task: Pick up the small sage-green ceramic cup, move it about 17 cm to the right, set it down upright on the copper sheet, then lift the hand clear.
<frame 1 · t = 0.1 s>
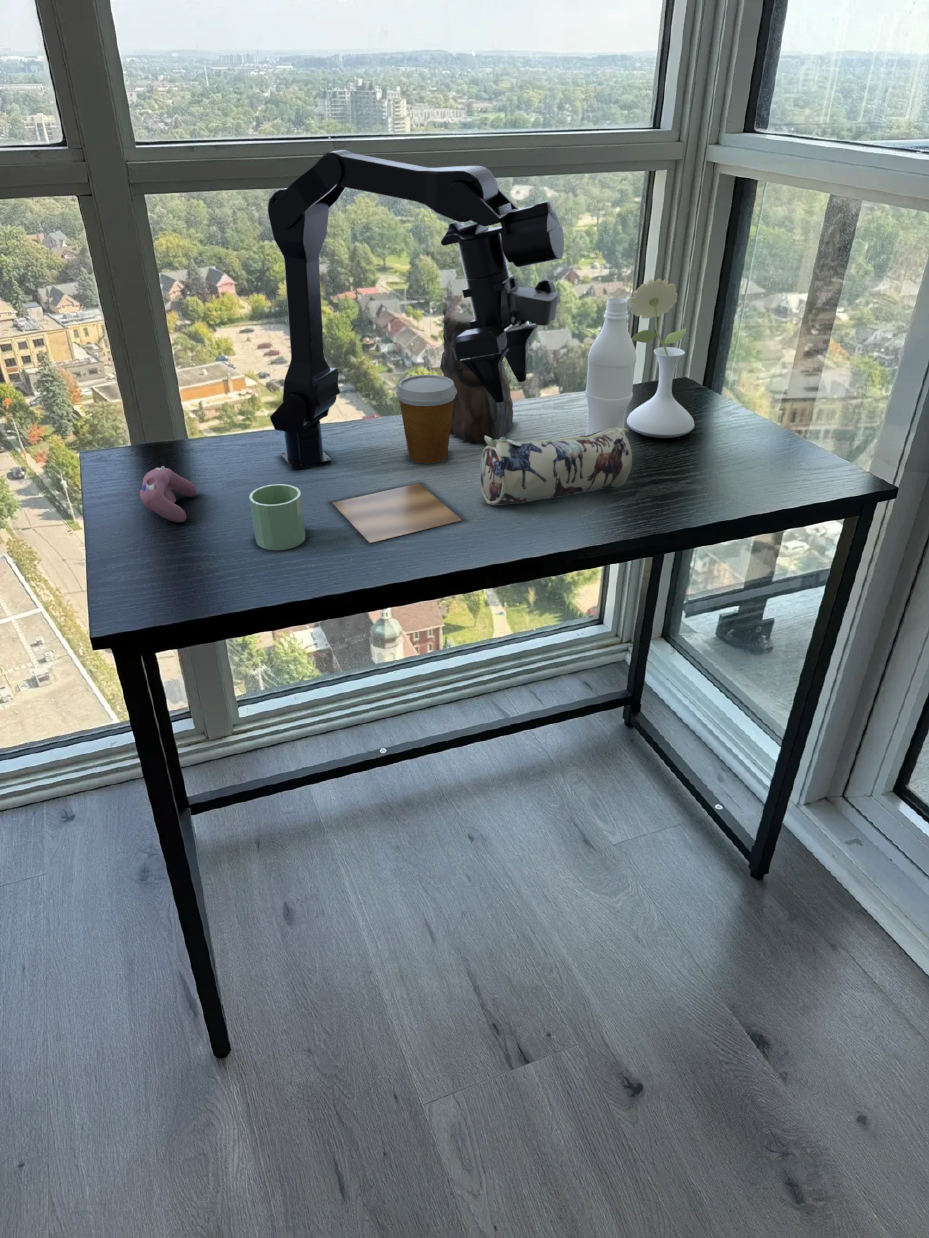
hand: (511, 391, 119), 15 cm above the table, tool pointing down, fingers open, 9 cm apart
owl: (483, 433, 149), on the table
water bottle: (602, 464, 137), on the table
disposable coffee cup: (428, 457, 140), on the table
video game controller: (172, 511, 124), on the table
glazed cup: (281, 538, 116), on the table
pencil case: (554, 495, 128), on the table
flower in vase: (654, 432, 149), on the table
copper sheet: (396, 511, 123), on the table
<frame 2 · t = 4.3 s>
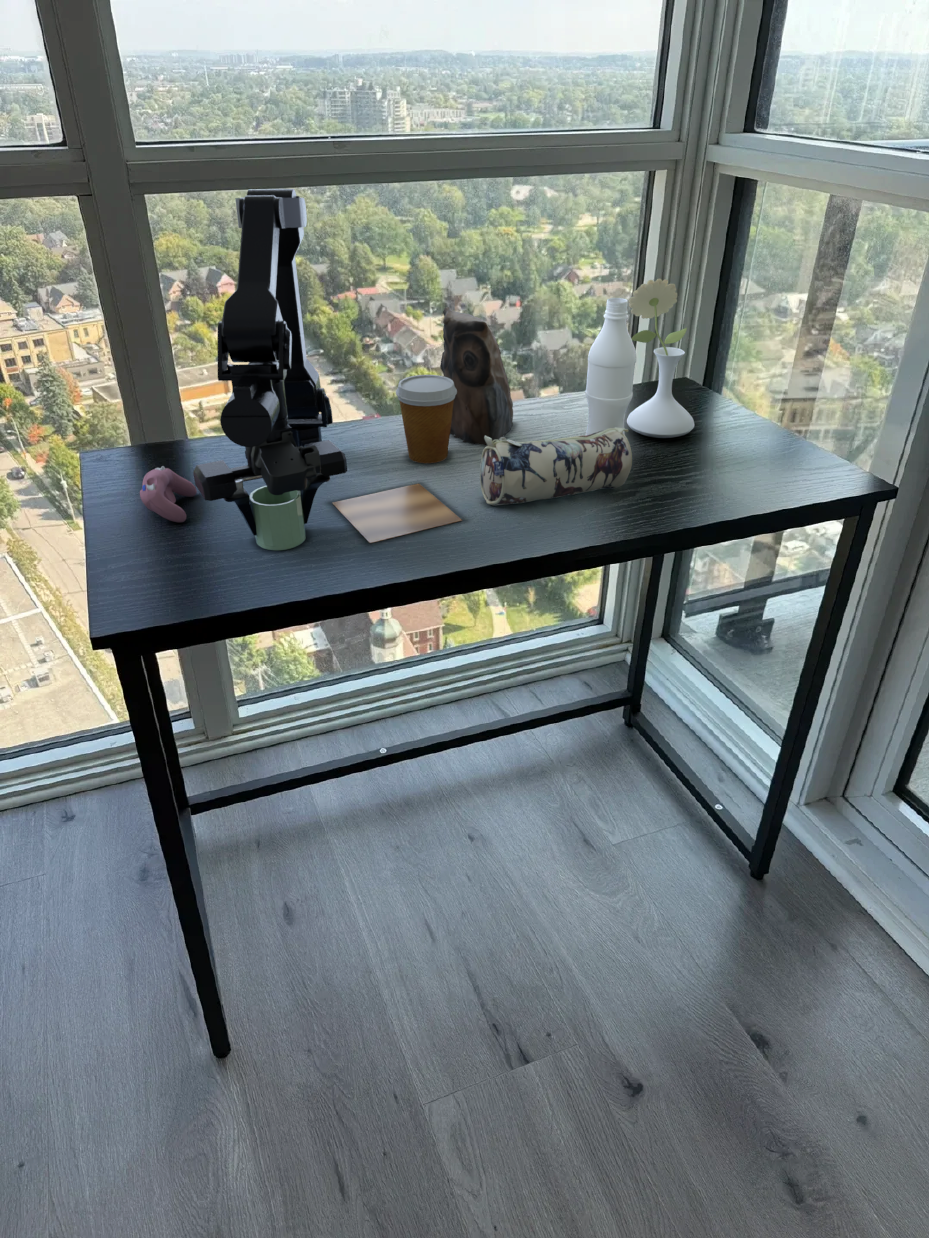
hand: (279, 528, 115), 2 cm above the table, tool pointing down, fingers closed on glazed cup, 6 cm apart
glazed cup: (281, 538, 116), on the table, touching gripper
everything else where it was.
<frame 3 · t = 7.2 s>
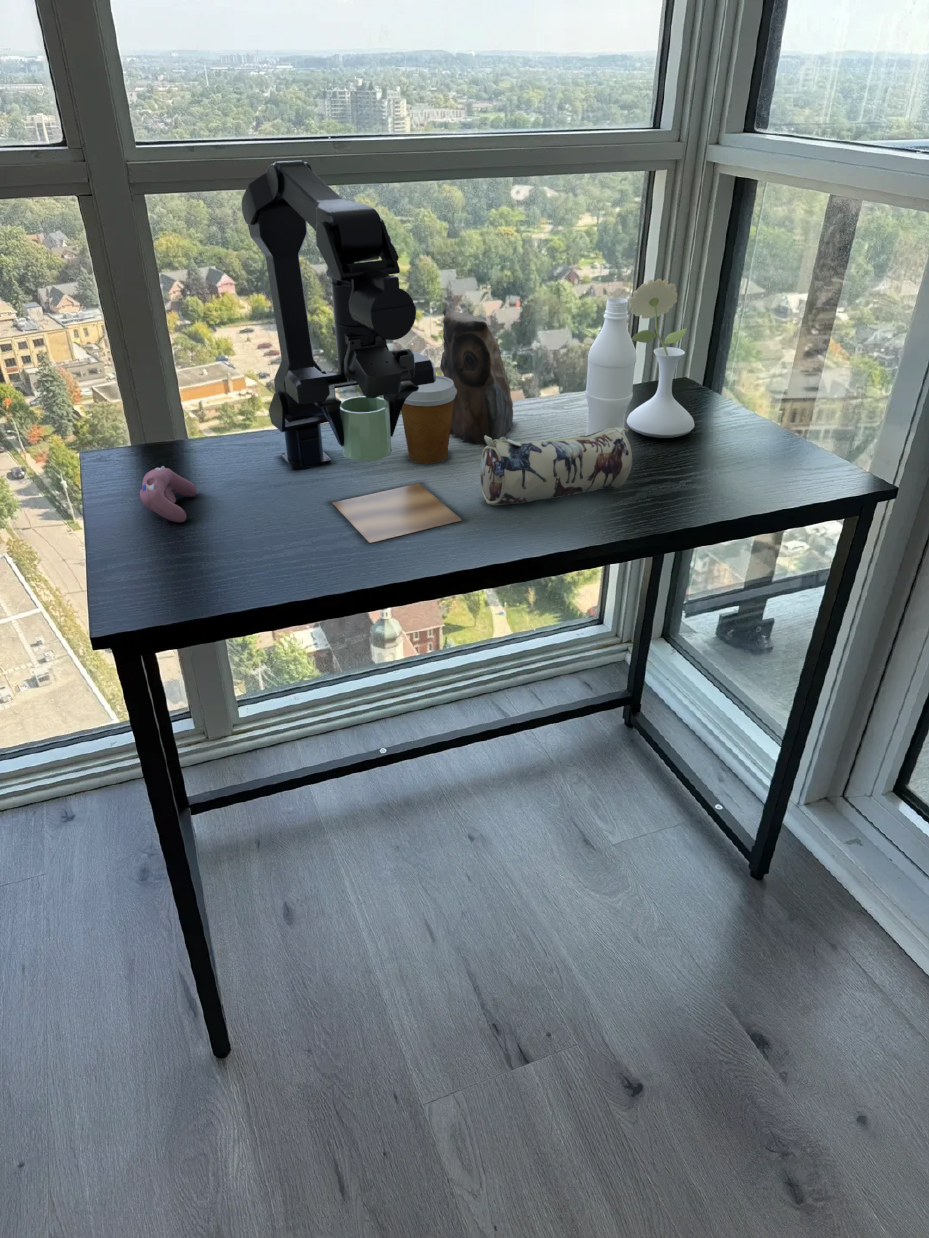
hand: (365, 440, 115), 11 cm above the table, tool pointing down, fingers closed on glazed cup, 6 cm apart
glazed cup: (366, 451, 116), point 10 cm above the table, touching gripper
everything else where it was.
when the fingers open (2 cm above the table, at t = 10.4 s): glazed cup stays where it is, resting on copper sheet.
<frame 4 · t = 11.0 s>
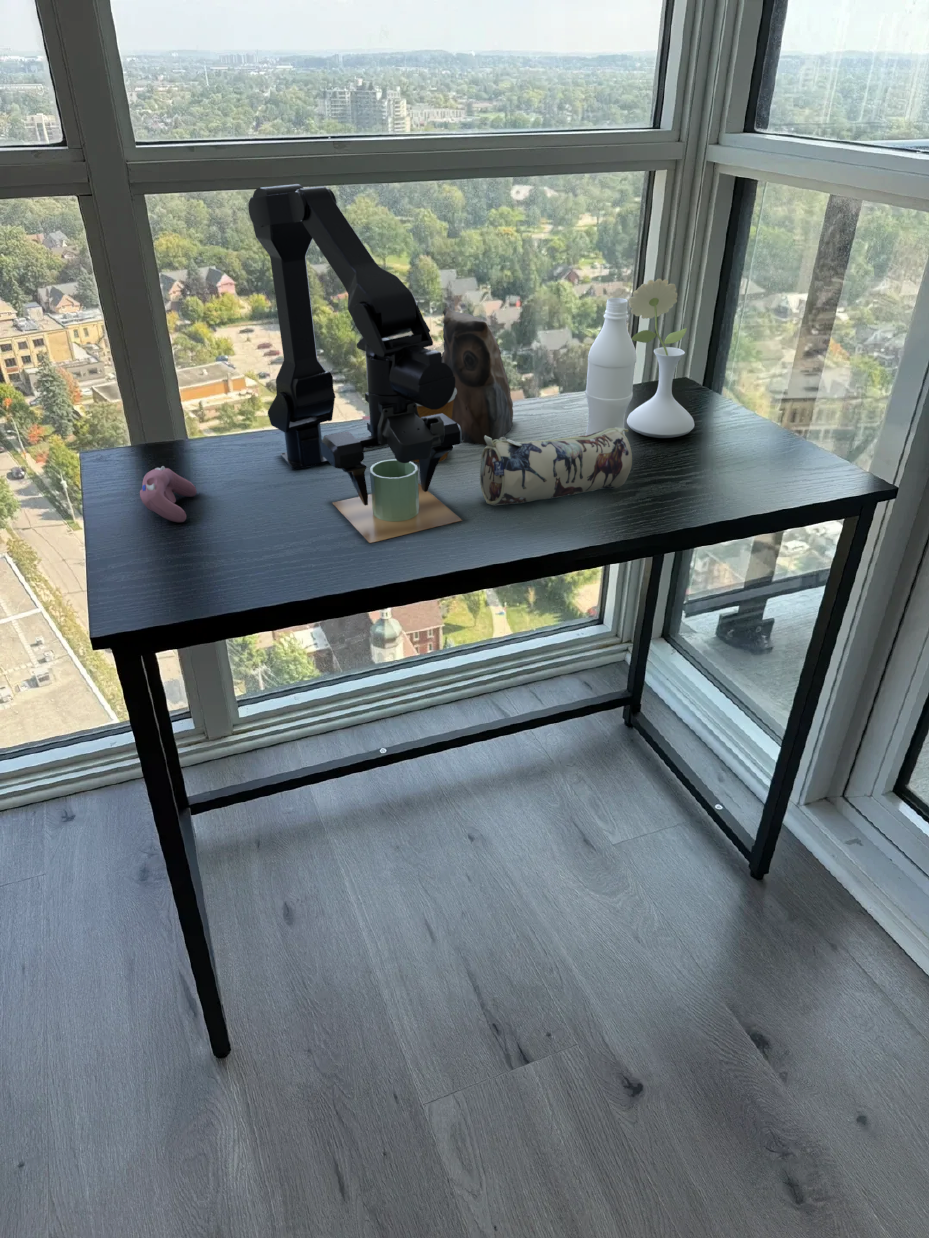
hand: (395, 497, 122), 2 cm above the table, tool pointing down, fingers open, 9 cm apart
glazed cup: (395, 511, 123), resting on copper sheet
everything else where it was.
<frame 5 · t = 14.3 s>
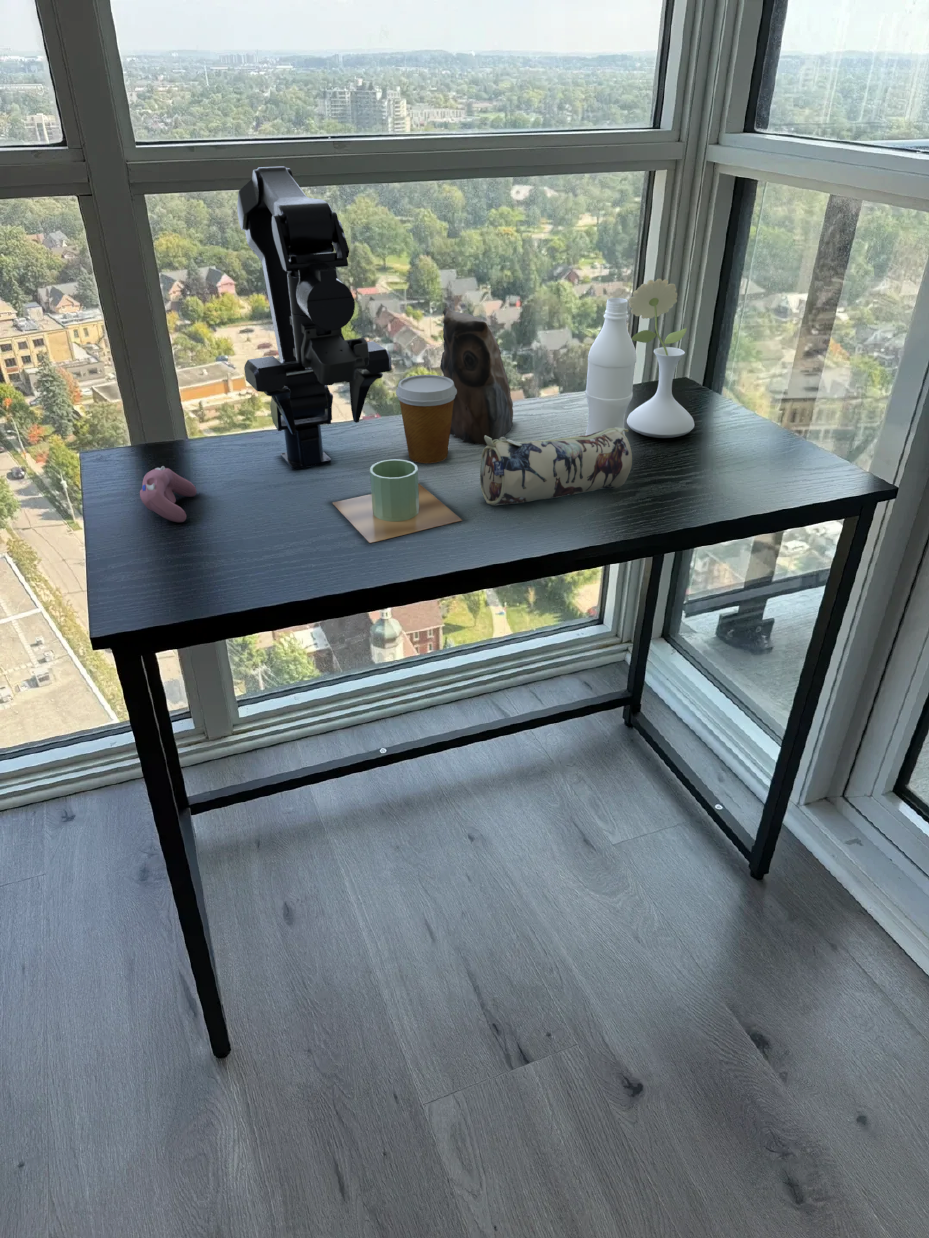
hand: (325, 427, 119), 12 cm above the table, tool pointing down, fingers open, 9 cm apart
nothing on the table moved.
at the end: glazed cup inside the target area on the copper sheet (0.0 cm from its centre), point 0.1 cm above the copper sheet's base; glazed cup tilted 0°; glazed cup moved 17.0 cm from its start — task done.
